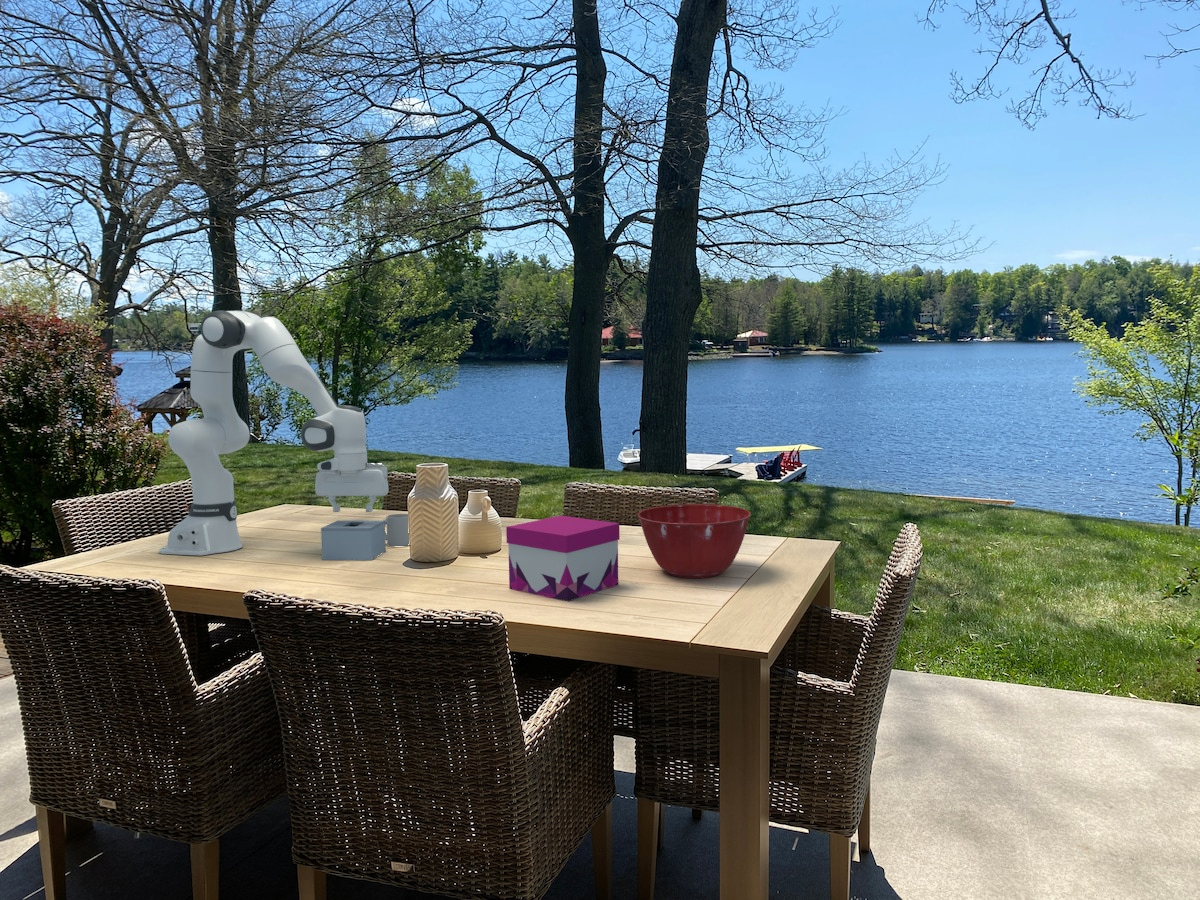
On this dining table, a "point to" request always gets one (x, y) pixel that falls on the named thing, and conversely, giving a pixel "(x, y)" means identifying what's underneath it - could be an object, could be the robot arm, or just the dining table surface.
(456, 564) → the dining table surface
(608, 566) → the decorative box
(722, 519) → the mixing bowl
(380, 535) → the money box
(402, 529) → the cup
